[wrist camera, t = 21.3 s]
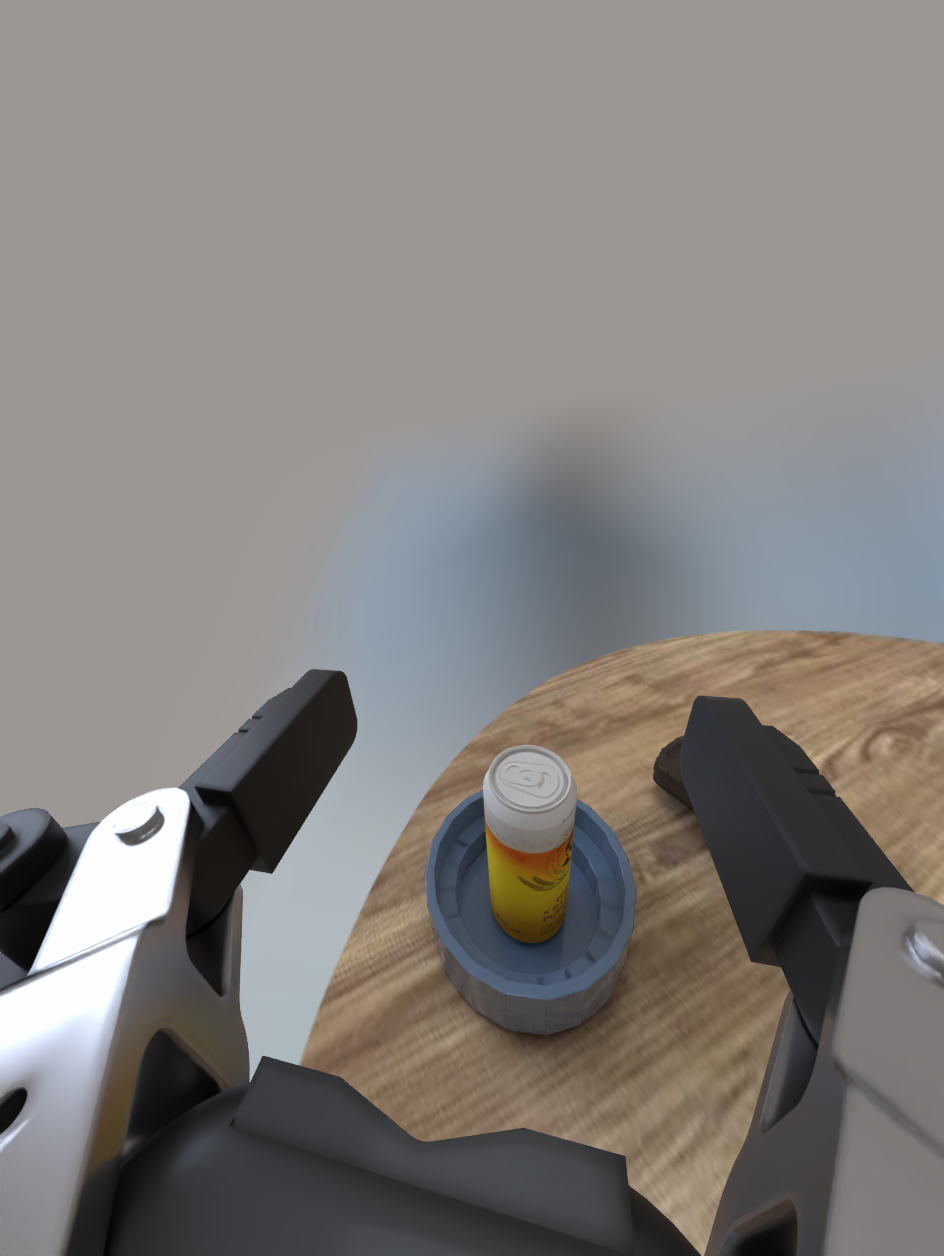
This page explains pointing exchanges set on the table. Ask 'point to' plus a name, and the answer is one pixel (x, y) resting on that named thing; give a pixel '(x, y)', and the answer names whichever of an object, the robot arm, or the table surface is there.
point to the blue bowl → (530, 972)
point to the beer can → (529, 840)
